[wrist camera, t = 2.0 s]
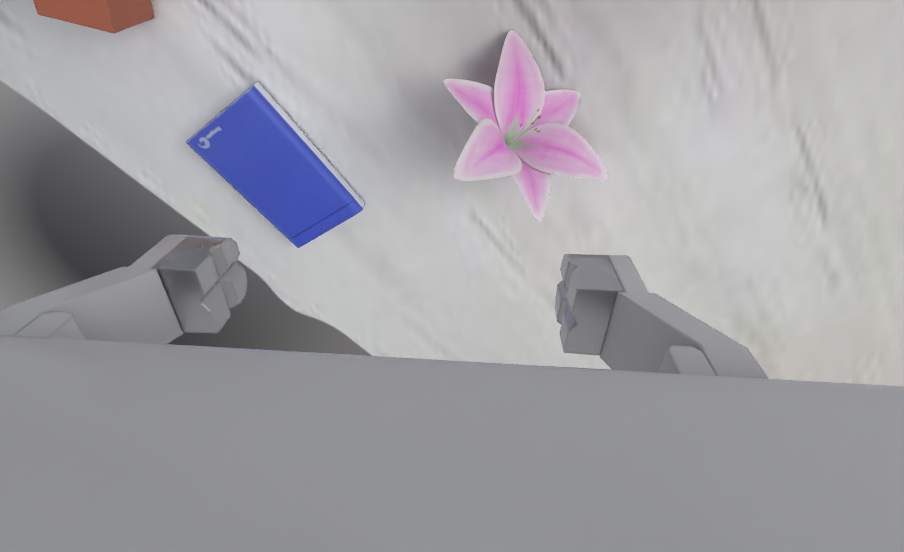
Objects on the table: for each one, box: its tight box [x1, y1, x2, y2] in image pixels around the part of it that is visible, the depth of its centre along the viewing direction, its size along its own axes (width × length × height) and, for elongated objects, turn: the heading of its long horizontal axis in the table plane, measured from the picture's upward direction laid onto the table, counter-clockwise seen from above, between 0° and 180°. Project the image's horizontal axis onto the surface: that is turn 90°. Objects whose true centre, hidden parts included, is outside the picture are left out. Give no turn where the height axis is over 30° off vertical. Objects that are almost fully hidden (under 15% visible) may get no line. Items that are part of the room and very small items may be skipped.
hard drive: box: [186, 82, 365, 248], centre depth 38 cm, size 2×8×12 cm
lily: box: [443, 30, 608, 222], centre depth 32 cm, size 12×12×10 cm
